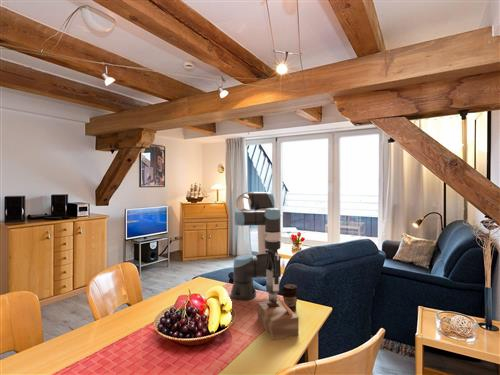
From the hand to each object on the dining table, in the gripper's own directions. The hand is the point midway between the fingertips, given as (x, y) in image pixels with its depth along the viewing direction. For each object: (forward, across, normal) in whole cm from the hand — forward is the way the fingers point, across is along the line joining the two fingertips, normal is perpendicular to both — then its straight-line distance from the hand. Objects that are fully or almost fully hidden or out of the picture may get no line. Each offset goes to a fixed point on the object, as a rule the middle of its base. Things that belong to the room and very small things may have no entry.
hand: (272, 287), depth 134 cm
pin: (+6, 0, 0) cm, 6 cm away
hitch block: (+17, +5, 0) cm, 17 cm away
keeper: (+5, +10, +1) cm, 12 cm away
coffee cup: (+17, -8, +13) cm, 23 cm away
